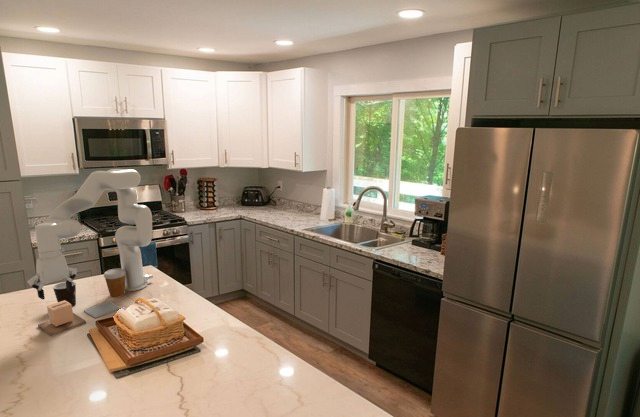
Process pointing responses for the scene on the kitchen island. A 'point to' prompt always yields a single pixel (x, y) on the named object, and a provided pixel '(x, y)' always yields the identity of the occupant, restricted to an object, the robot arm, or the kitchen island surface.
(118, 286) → the disposable coffee cup
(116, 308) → the mat
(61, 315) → the coin bank
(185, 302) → the kitchen island surface
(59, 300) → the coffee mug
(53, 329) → the post base
